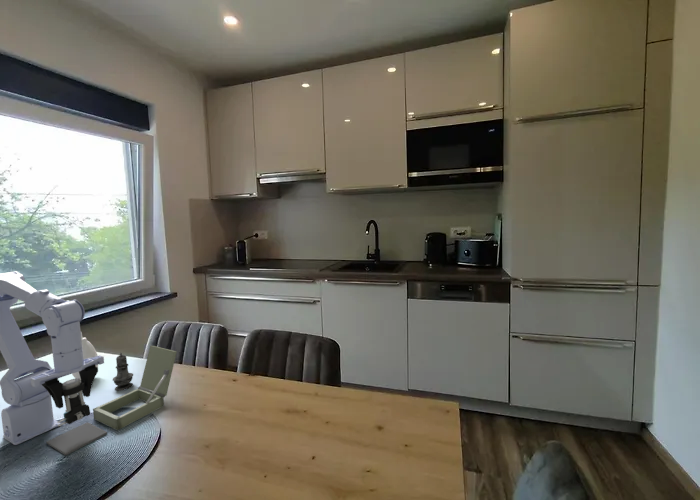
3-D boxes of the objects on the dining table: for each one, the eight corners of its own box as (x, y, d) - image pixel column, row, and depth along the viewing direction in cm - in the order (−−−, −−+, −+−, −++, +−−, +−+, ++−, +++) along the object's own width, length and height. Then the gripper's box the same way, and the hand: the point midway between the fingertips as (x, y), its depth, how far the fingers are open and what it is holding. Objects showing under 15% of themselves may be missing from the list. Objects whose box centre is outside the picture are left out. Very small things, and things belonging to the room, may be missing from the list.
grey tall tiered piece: (126, 391, 110) (123, 356, 109) (109, 391, 110) (105, 356, 109) (138, 382, 116) (135, 349, 115) (121, 382, 116) (118, 349, 115)
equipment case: (117, 430, 89) (112, 375, 87) (93, 419, 94) (88, 367, 93) (180, 397, 105) (176, 350, 104) (157, 389, 111) (153, 344, 109)
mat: (65, 455, 80) (65, 453, 80) (46, 443, 84) (46, 441, 84) (107, 433, 88) (107, 431, 88) (87, 423, 92) (87, 422, 92)
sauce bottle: (76, 378, 120) (70, 329, 119) (102, 373, 124) (97, 326, 122) (68, 387, 113) (63, 336, 112) (96, 382, 117) (91, 332, 115)
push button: (64, 430, 81) (56, 391, 80) (53, 425, 83) (46, 388, 82) (94, 414, 87) (88, 378, 86) (84, 410, 89) (77, 375, 88)
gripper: (37, 363, 76) (44, 420, 77) (108, 342, 88) (113, 391, 90) (24, 358, 79) (31, 413, 80) (94, 338, 92) (99, 385, 93)
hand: (73, 401), depth 85 cm, fingers closed on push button, 5 cm apart
